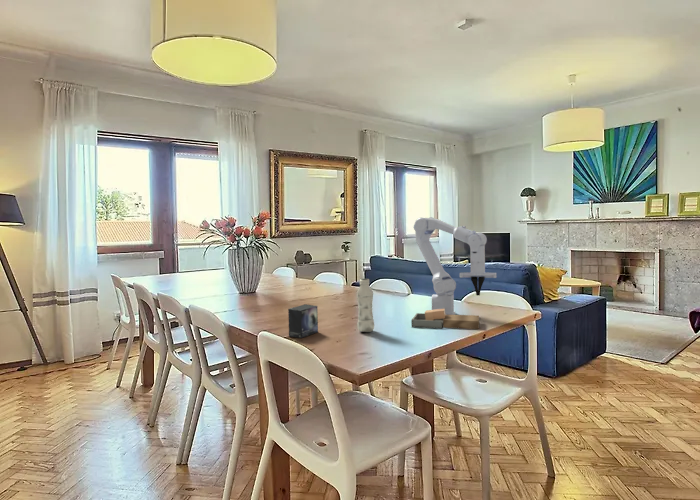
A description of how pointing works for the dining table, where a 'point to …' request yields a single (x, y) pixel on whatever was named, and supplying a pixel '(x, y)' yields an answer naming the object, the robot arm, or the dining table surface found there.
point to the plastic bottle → (365, 307)
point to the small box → (303, 320)
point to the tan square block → (429, 315)
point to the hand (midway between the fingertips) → (478, 295)
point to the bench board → (461, 321)
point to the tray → (425, 322)
